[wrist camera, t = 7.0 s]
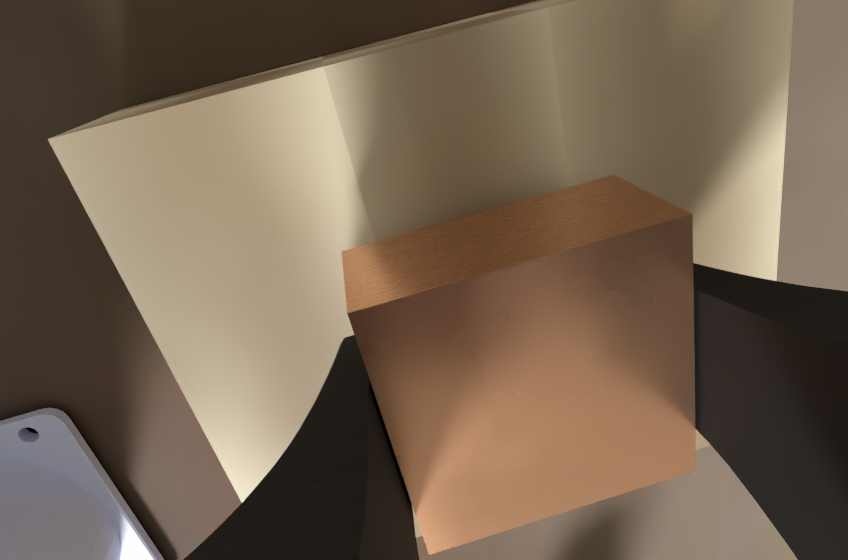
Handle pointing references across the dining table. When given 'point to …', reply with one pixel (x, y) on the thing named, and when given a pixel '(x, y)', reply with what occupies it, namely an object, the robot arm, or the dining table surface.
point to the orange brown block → (531, 355)
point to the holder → (417, 176)
